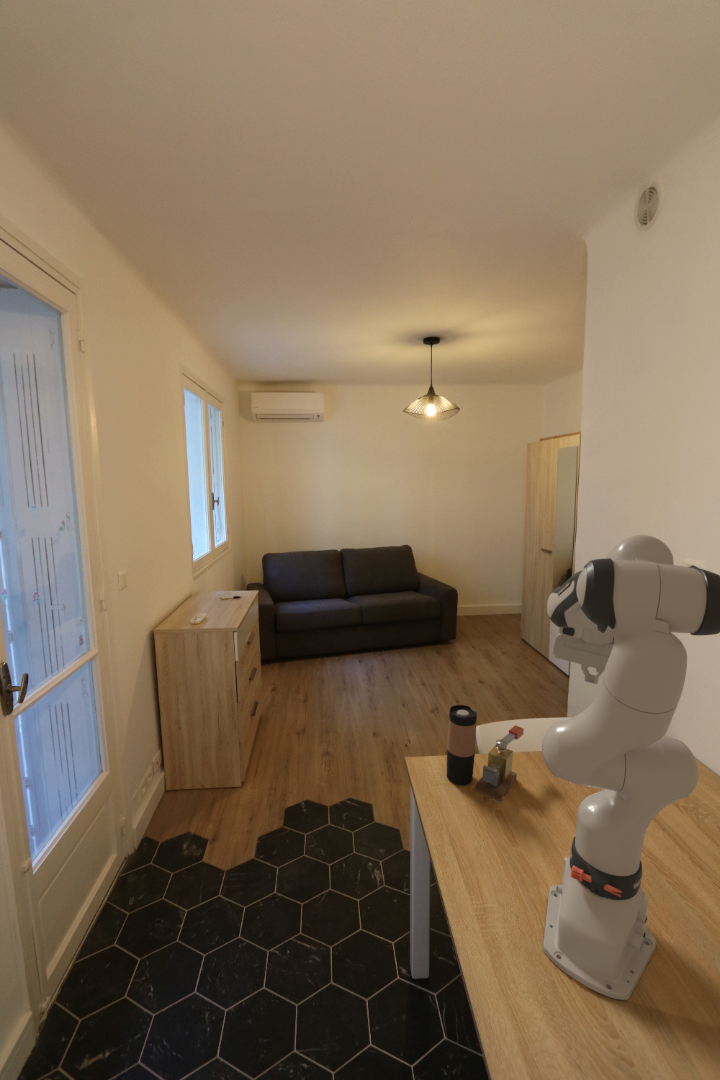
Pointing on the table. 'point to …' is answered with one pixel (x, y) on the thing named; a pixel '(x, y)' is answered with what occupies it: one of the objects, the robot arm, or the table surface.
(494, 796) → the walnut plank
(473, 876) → the table surface
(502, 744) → the valve lever
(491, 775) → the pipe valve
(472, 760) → the travel mug
